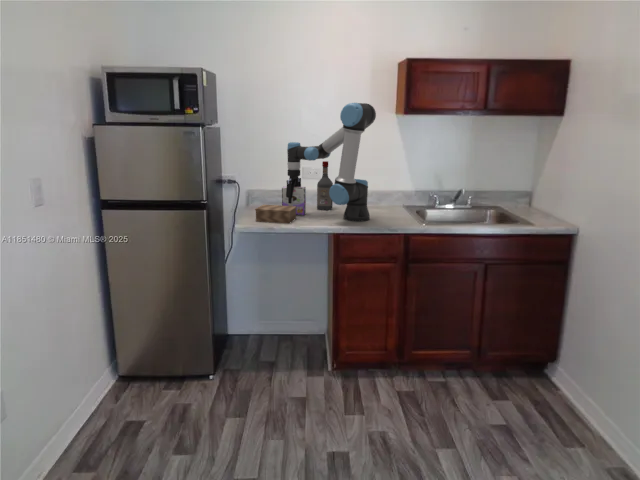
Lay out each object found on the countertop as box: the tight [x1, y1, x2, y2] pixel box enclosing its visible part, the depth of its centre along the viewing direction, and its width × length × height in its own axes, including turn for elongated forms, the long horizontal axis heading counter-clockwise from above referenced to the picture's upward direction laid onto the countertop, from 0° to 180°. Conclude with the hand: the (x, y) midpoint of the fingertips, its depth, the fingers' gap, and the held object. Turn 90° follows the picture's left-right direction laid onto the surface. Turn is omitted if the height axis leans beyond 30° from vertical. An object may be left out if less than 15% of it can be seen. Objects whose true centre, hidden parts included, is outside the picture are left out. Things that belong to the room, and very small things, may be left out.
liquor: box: [316, 160, 334, 211], centre depth 304 cm, size 9×9×30 cm
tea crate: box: [254, 204, 297, 224], centre depth 273 cm, size 20×14×7 cm
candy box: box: [281, 186, 307, 216], centre depth 288 cm, size 14×6×16 cm, turn 84°
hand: (293, 207), depth 289 cm, fingers closed on candy box, 7 cm apart
